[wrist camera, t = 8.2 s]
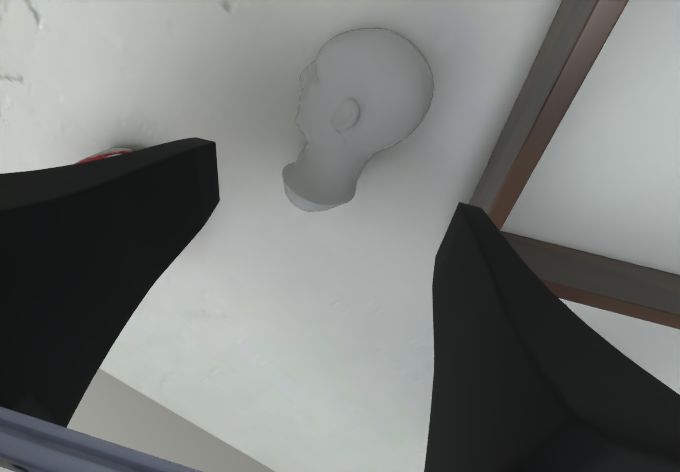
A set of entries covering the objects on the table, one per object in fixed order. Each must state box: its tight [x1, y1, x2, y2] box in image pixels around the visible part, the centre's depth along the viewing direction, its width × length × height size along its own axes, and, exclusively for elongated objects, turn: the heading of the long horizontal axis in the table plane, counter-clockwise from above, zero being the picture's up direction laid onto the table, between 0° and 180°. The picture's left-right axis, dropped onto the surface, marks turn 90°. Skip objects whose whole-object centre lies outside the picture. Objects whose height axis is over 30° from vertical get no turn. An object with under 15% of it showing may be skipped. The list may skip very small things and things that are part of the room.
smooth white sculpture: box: [282, 29, 433, 212], centre depth 15 cm, size 4×8×5 cm
